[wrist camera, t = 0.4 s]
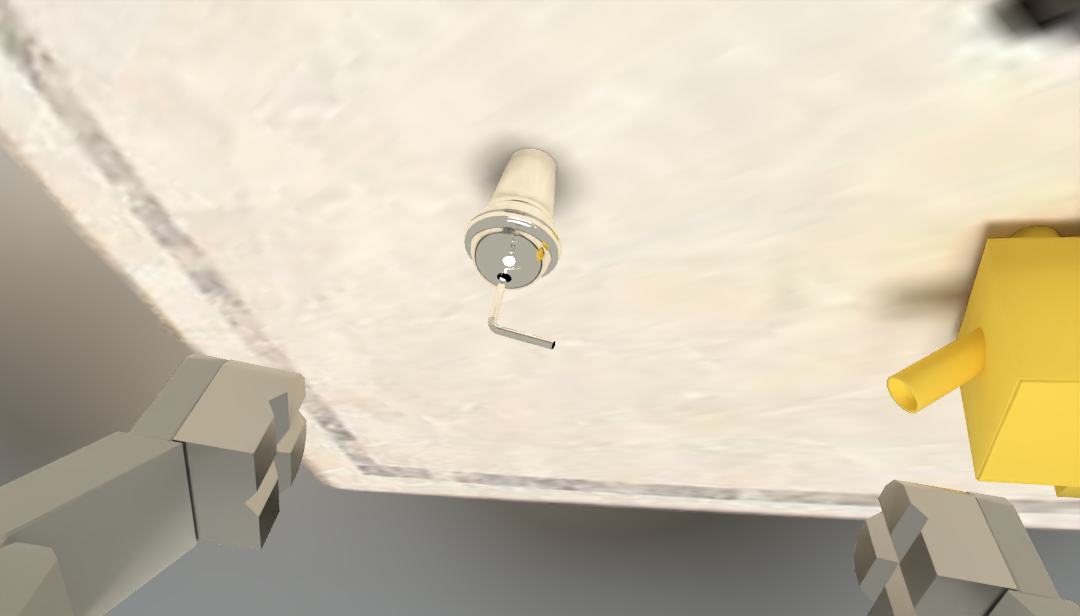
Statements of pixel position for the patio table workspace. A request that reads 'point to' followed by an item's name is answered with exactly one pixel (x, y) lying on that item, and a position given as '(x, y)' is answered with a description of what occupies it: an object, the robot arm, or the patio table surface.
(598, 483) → the patio table surface
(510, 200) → the cup with straw
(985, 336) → the yellow teapot
